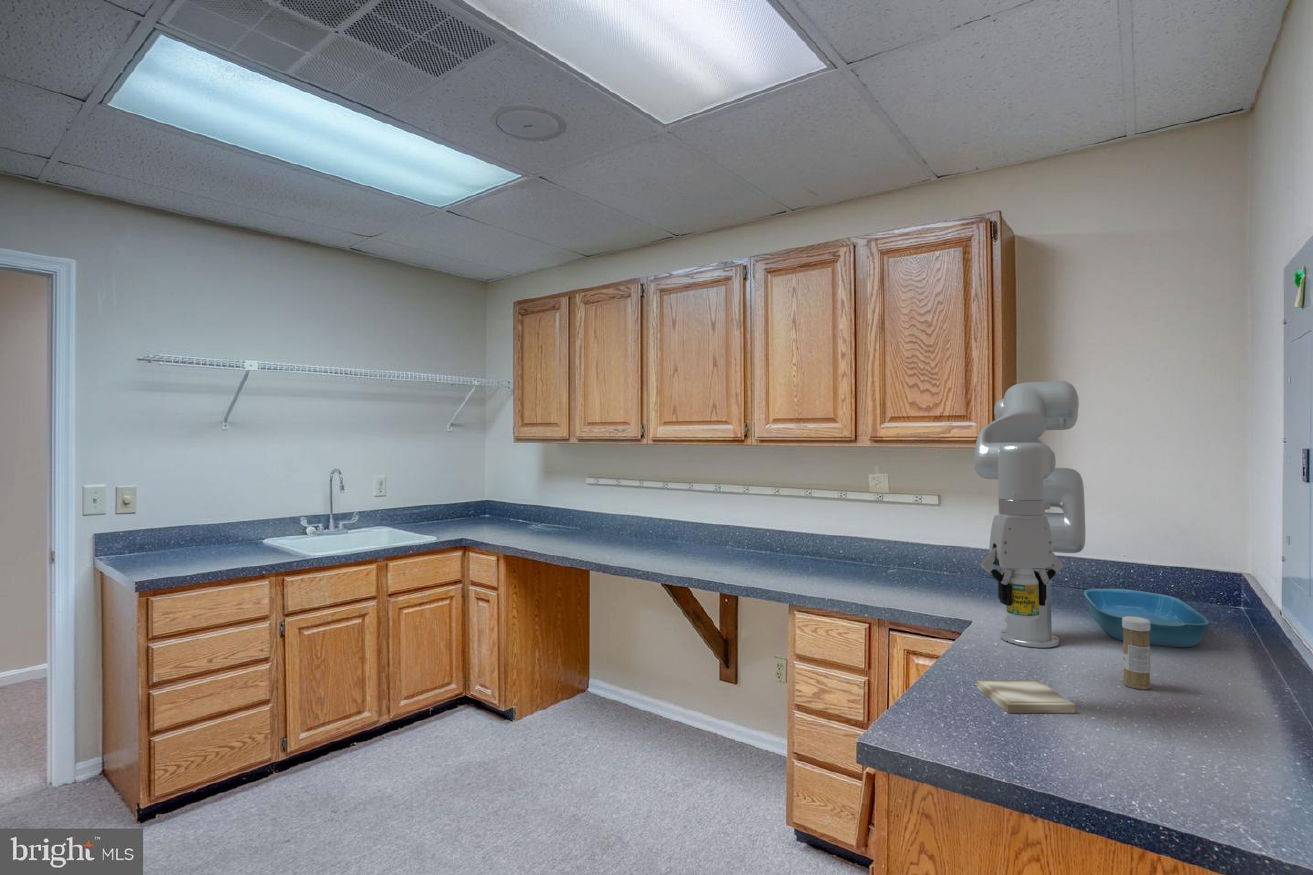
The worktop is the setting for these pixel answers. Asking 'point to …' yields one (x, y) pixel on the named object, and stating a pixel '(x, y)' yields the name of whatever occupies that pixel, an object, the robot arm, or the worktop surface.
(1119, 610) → the casserole dish
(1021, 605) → the supplement bottle
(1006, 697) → the cream square tray
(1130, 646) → the sprinkles bottle
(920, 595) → the worktop surface
